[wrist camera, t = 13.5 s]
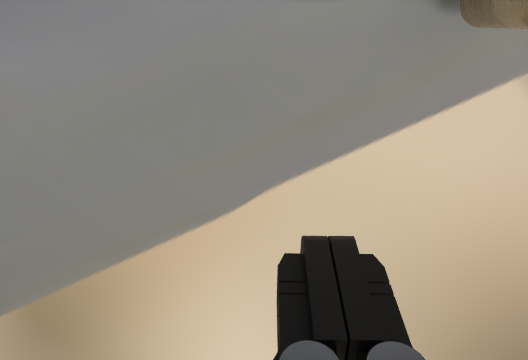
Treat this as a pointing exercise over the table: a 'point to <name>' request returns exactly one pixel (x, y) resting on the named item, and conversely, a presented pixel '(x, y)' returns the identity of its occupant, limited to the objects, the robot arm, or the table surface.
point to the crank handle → (495, 13)
